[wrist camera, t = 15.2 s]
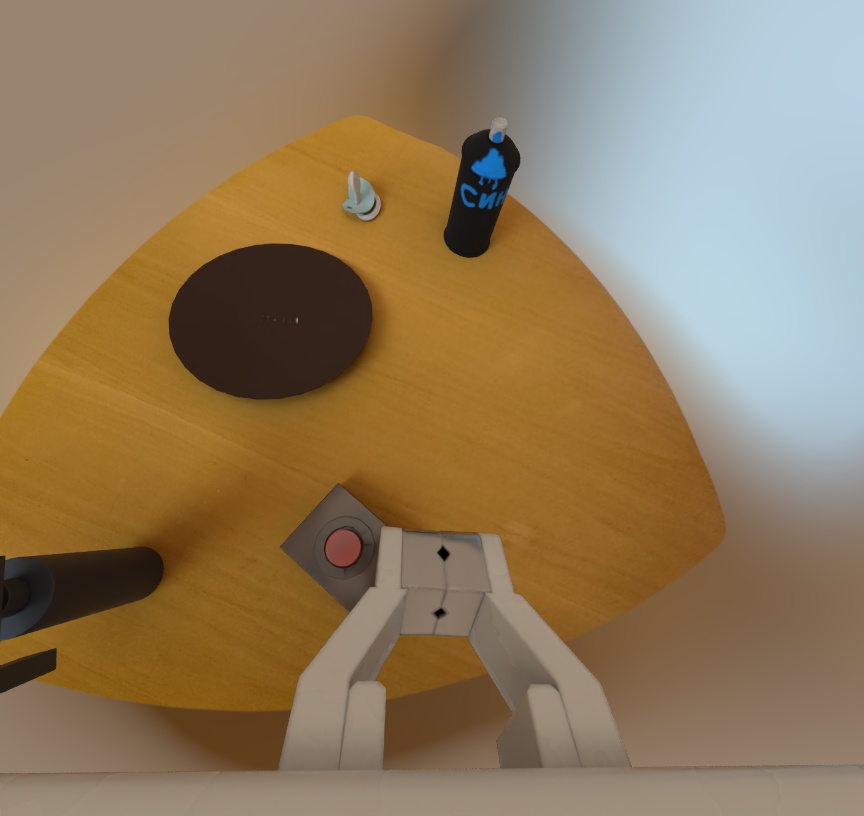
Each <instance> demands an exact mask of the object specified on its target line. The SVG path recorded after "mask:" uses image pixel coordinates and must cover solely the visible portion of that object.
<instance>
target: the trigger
mask: <svg viewBox="0 0 864 816" xmlns="http://www.w3.org/2000/svg"><path fill="white" fill-rule="evenodd" d="M56 651H57V649H56V648H55V649H51V650H48V651H44V652H40V653H36V654H33V655H29V656H25V657H22V658H19V659H17V660H14V661H11V662H8V663H6V664H3V665H0V693H3V692H5V691H7V690H10V689H12V688H14V687H17V686H19V685H21V684H23V683H26V682H28V681H30V680H33V679H35V678H37V677H39V676H42V675H44V674H46V673H49V672H51V671H53V670H55V669H56Z"/></svg>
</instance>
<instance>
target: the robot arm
mask: <svg viewBox="0 0 864 816" xmlns="http://www.w3.org/2000/svg"><path fill="white" fill-rule="evenodd" d="M399 635H439V636H455V637H469V638H468V640H469V642H470V643H471V645H472V647H473V648H474V650H475V652H476V653H477V655H478V656H479V658H480V660H481V661H482V663H483V665H484V666H485V668H486V670H487V671H488V673H489V675H490V676H491V678H492V680H493V681H494V683H495V685H496V686H497V688H498V689H499V691H500V693H501V694H502V696H503V698H504V699H505V701H506V703H507V704H508V706H509V708H510V709H511V711H512V712H513V715H512V716H511V718H510V719H509V721H508V723H507V724H506V726H505V728H504V729H503V731H502V733H501V734H500V736H499V738H498V739H497V748H498V755H499V762H500V768H493V769H397V770H396V769H392V770H383V749H384V726H385V701H386V689H385V688H384V686H383V685H382V684H381V683H380V682H379V681H374V680H375V678H376V676H377V675H378V673H379V671H380V669H381V668H382V666H383V664H384V662H385V661H386V659H387V657H388V655H389V654H390V652H391V650H392V648H393V647H394V645H395V643H396V641H397V640H398V638H399ZM0 816H864V765H789V766H689V767H632V766H631V763H630V761H629V758H628V755H627V753H626V750H625V747H624V745H623V742H622V739H621V737H620V734H619V731H618V729H617V726H616V723H615V721H614V718H613V715H612V713H611V710H610V707H609V705H608V702H607V699H606V697H605V694H604V691H603V689H602V686H601V684H600V683H599V681H598V680H597V679H596V678H595V677H594V676H593V675H592V674H591V672H590V671H589V670H588V669H587V668H586V667H585V666H584V665H583V664H582V662H581V661H580V660H579V659H578V658H577V657H576V656H575V655H574V654H573V652H572V651H571V650H570V649H569V648H568V647H567V646H566V645H565V643H564V642H563V641H562V640H561V639H560V638H559V637H558V636H557V635H556V633H555V632H554V631H553V630H552V629H551V628H550V627H549V626H548V624H547V623H546V622H545V621H544V620H543V619H542V618H541V617H540V616H539V614H538V613H537V612H536V611H535V610H534V609H533V608H532V607H531V605H530V604H529V603H528V602H527V601H526V600H525V599H524V598H523V597H522V595H521V594H514V590H513V586H512V582H511V578H510V574H509V570H508V566H507V562H506V558H505V555H504V551H503V547H502V543H501V539H500V537H499V535H498V534H486V533H475V532H457V531H432V530H421V529H411V528H398V527H386V526H382V528H381V536H380V544H379V552H378V560H377V568H376V577H375V587H370V588H369V589H368V590H367V592H366V593H365V594H364V595H363V597H362V598H361V599H360V600H359V602H358V603H357V604H356V606H355V607H354V608H353V609H352V611H351V612H350V613H349V614H348V616H347V617H346V618H345V620H344V621H343V622H342V623H341V625H340V626H339V627H338V628H337V630H336V631H335V632H334V634H333V635H332V636H331V637H330V639H329V640H328V641H327V642H326V644H325V645H324V646H323V648H322V649H321V650H320V651H319V653H318V654H317V655H316V656H315V658H314V659H313V660H312V662H311V663H310V664H309V665H308V667H307V668H306V669H305V670H304V672H303V673H302V674H301V676H300V677H299V680H298V684H297V689H296V693H295V697H294V702H293V706H292V710H291V715H290V719H289V724H288V728H287V732H286V737H285V741H284V746H283V750H282V754H281V758H280V763H279V767H278V771H203V772H202V771H196V772H98V773H5V774H3V773H2V774H0Z"/></svg>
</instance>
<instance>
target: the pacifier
mask: <svg viewBox="0 0 864 816" xmlns="http://www.w3.org/2000/svg"><path fill="white" fill-rule="evenodd" d="M348 184H349V188H348V195H349V200H347V201H345V202H344V203H343V205H342V206H343V209H344V210H346V211H349V212H352V213H356V215H357V216H358V217H359V218H360V219H361V220H364V221H368V220H371V219H373V218H375V217H376V216H377V214H378V213H379V211H380V208H381V201H380V198H379V196H378V195H377V194H376V193H375V192H374V190H373V187H372V186H371V184H370V183H369V182H368V181H367V180H365V179H363V178H360V177H359V174H358V172H357V171H352V172H351V173H350V174H349V177H348ZM374 200H375V201H376V207H375V209H374V211H373V212H372V213H370V214H368V215H363V214H361V213H366V212H368V211H369V210H371V208H372V207H373V204H374ZM348 208H352V209H348Z"/></svg>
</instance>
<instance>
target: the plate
mask: <svg viewBox="0 0 864 816" xmlns="http://www.w3.org/2000/svg"><path fill="white" fill-rule="evenodd" d="M371 323H372V304H371V300H370V297H369V294H368V290H367V289H366V287H365V285H364V284H363V282H362V280H361V278H360V277H359V276H358V275H357V274H356V273H355V272H354V271H353V270H352V269H351V268H350V267H349V266H348V265H346V264H345V263H344V262H342V261H341V260H339V259H338V258H336V257H334V256H332V255H330V254H327V253H325V252H323V251H320V250H316V249H313V248H310V247H305V246H299V245H293V244H264V245H254V246H250V247H245V248H241V249H237V250H234V251H231V252H229V253H226V254H223V255H221V256H219V257H217V258H215V259H213V260H211V261H210V262H208V263H206V264H204V265H203V266H202V267H201V268H199V269H198V270H197V271H196V272H195V273H193V274H192V275H191V276H190V277H189V278H188V279H187V281H186V282H185V283H184V284H183V286H182V287H181V288H180V289H179V291H178V293H177V295H176V297H175V299H174V301H173V303H172V307H171V312H170V316H169V334H170V339H171V342H172V345H173V348H174V351H175V353H176V354H177V356H178V357H179V359H180V360H181V362H182V363H183V365H184V366H185V368H186V369H188V370H189V371H190V372H191V373H192V374H193V375H194V376H195V377H196V378H197V379H198V380H200V381H202V382H203V383H205V384H207V385H209V386H210V387H212V388H214V389H216V390H218V391H221V392H224V393H227V394H230V395H233V396H236V397H243V398H250V399H281V398H285V397H290V396H295V395H300V394H303V393H305V392H308V391H310V390H313V389H315V388H318V387H320V386H322V385H324V384H325V383H327V382H329V381H330V380H332V379H334V378H335V377H337V376H338V375H339V374H340V373H342V372H343V371H344V370H345V369H346V368H347V367H348V366H349V365H350V364H351V363H352V362H353V361H354V360H355V358H356V357H357V356H358V354H359V353H360V352H361V350H362V349H363V347H364V344H365V342H366V340H367V338H368V336H369V333H370V328H371Z"/></svg>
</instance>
